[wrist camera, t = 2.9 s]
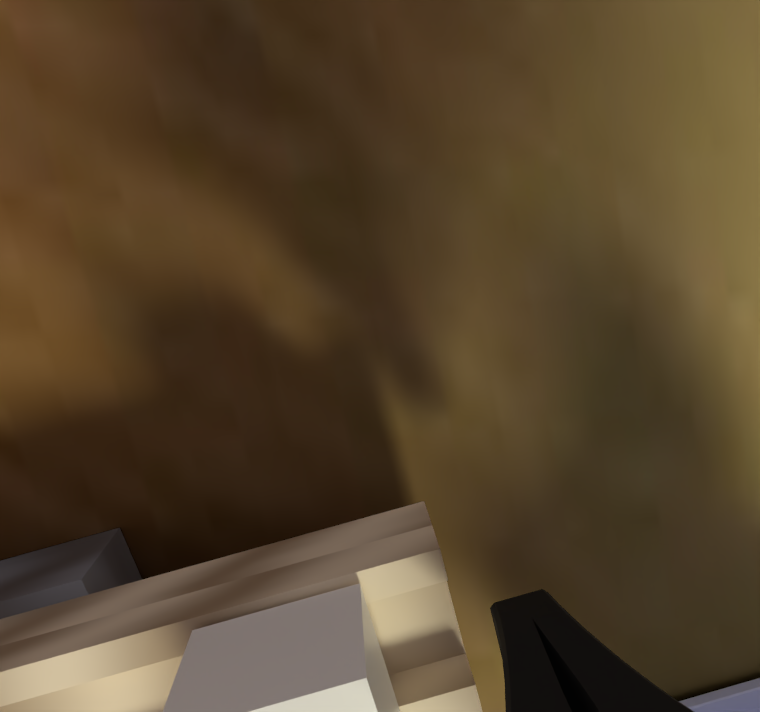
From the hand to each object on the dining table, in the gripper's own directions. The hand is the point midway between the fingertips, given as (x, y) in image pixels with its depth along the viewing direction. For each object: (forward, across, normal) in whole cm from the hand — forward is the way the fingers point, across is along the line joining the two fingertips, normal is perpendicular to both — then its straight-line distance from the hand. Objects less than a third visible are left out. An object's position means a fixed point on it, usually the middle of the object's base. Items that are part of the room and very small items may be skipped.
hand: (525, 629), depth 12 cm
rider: (+1, +6, 0) cm, 6 cm away
